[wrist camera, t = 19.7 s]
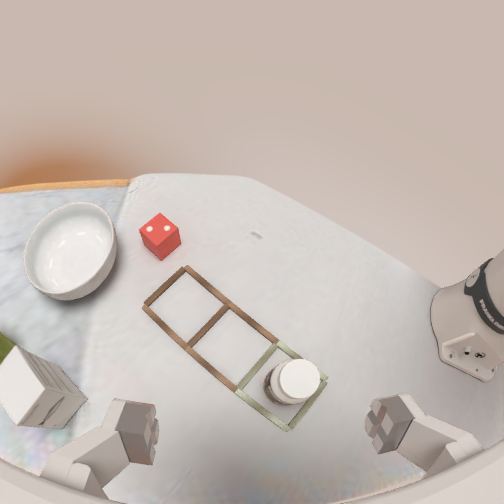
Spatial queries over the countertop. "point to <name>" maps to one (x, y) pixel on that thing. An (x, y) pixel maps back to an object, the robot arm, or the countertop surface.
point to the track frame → (211, 369)
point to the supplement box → (37, 391)
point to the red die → (160, 236)
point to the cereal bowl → (70, 251)
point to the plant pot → (5, 347)
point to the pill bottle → (292, 382)
